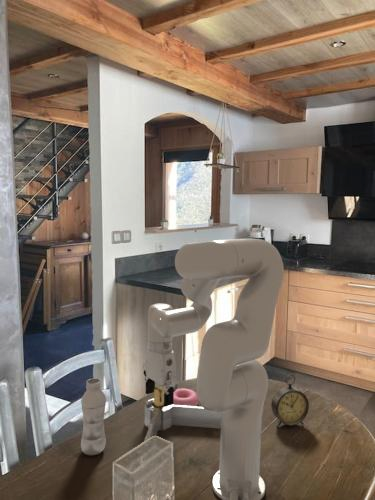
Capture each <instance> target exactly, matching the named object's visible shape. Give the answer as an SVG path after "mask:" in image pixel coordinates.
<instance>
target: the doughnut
mask: <svg viewBox="0 0 375 500" xmlns="http://www.w3.org/2000/svg"><path fill="white" fill-rule="evenodd" d="M198 404H199V399H198V396H197V391H195V390H193V389H190V388H183V387H181V388H177V389H176V390H175V392H174V401H173V405H184V406H198Z"/></svg>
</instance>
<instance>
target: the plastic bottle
mask: <svg viewBox="0 0 375 500" xmlns="http://www.w3.org/2000/svg"><path fill="white" fill-rule="evenodd" d="M101 382H102V381H101V379H100V378H98V377H97V378H96V377H95V378H89V379H87V380H86V382H85V383H86V386H85V389H86V391H85V392H84V393H83V396H82V397H81V399H80V401H81V402H80V404H81V411H82V422H83V427H82V435H81V440H80V447H81V451H82V453H83V454H84V455H86V456H96V455H99V454H101V453H102V452H104V449H105V447H106V444H107V440H106V439H107V437H106V434H105V424H104V419H105V409H106V404H107V398H106V394H105V393H104V391H102V389H101V388H102V384H101Z"/></svg>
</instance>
